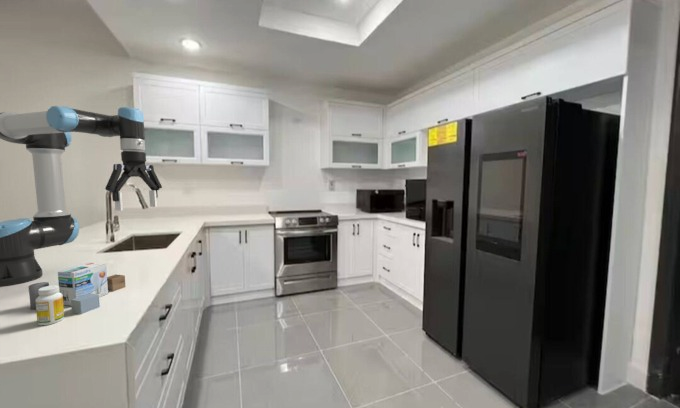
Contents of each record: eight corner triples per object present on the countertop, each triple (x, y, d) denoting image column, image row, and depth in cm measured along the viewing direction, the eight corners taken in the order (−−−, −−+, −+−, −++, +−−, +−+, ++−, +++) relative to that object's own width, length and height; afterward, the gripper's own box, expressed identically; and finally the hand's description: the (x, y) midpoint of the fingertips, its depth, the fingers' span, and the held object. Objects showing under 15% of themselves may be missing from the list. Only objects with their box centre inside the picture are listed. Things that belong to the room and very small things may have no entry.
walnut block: (104, 290, 105) (103, 278, 105) (116, 286, 109) (115, 274, 109) (113, 291, 104) (112, 279, 103) (125, 287, 108) (124, 275, 108)
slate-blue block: (72, 312, 88) (70, 299, 87) (90, 305, 93) (89, 293, 92) (81, 314, 87) (80, 301, 86) (99, 307, 91) (98, 294, 91)
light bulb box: (76, 306, 92) (73, 272, 91) (59, 305, 93) (56, 271, 92) (109, 293, 102) (107, 262, 101) (93, 292, 103) (91, 261, 102)
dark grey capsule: (27, 308, 91) (24, 286, 90) (45, 302, 95) (42, 281, 94) (36, 310, 89) (34, 287, 89) (54, 304, 93) (52, 282, 93)
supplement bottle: (38, 328, 79) (35, 293, 78) (36, 321, 82) (33, 288, 81) (66, 320, 83) (63, 287, 82) (63, 314, 86) (60, 282, 85)
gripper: (105, 148, 97) (110, 212, 99) (169, 153, 121) (172, 205, 122) (89, 148, 99) (94, 211, 101) (155, 154, 123) (158, 205, 125)
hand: (137, 208), depth 112 cm, fingers open, 13 cm apart
